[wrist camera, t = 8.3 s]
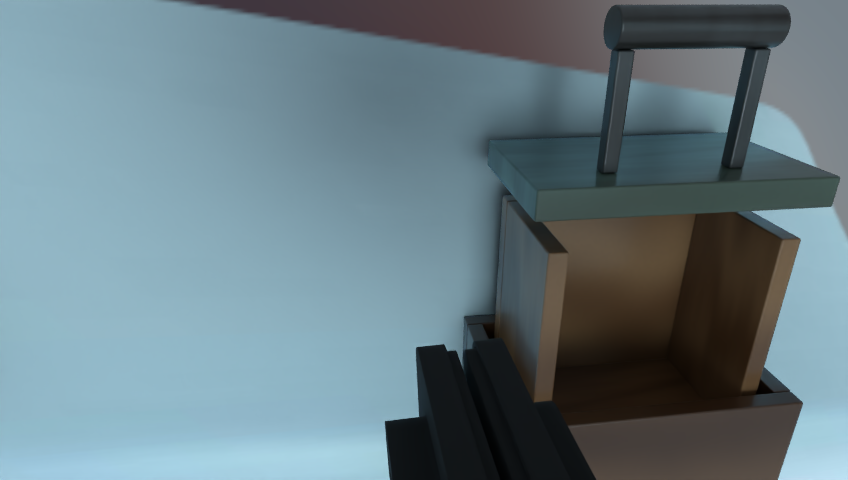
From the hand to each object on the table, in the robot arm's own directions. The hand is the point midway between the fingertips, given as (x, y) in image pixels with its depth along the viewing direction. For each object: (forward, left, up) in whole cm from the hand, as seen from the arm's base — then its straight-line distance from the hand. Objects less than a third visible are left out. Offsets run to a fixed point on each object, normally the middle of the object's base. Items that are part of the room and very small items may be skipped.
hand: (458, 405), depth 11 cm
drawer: (+2, +10, -16) cm, 19 cm away
